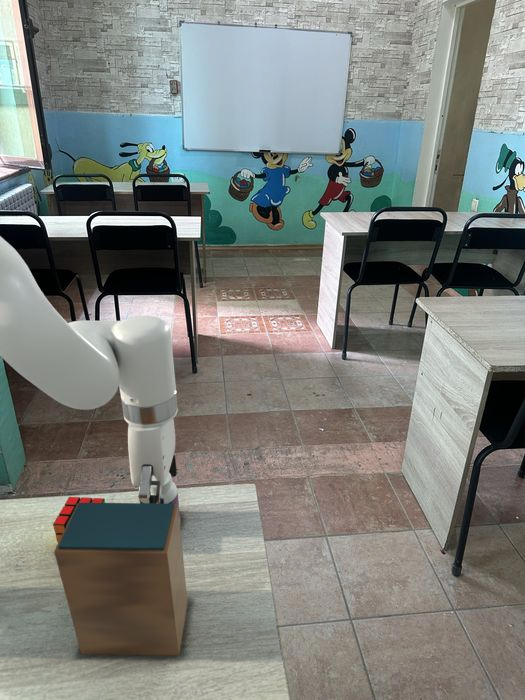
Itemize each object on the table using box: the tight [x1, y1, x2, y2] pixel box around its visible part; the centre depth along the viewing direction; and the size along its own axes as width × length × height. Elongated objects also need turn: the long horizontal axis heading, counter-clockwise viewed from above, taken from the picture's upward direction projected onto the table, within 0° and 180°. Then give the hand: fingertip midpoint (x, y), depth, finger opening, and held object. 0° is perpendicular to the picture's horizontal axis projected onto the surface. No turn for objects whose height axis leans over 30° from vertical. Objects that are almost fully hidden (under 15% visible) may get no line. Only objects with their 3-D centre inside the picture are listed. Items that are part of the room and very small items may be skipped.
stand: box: [53, 503, 188, 656], centre depth 58 cm, size 12×7×18 cm, turn 89°
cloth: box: [58, 502, 174, 550], centre depth 54 cm, size 11×6×1 cm, turn 89°
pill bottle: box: [150, 473, 181, 520], centre depth 75 cm, size 5×5×10 cm
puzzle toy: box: [52, 496, 106, 543], centre depth 73 cm, size 6×6×6 cm
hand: (161, 496), depth 75 cm, fingers open, 9 cm apart
